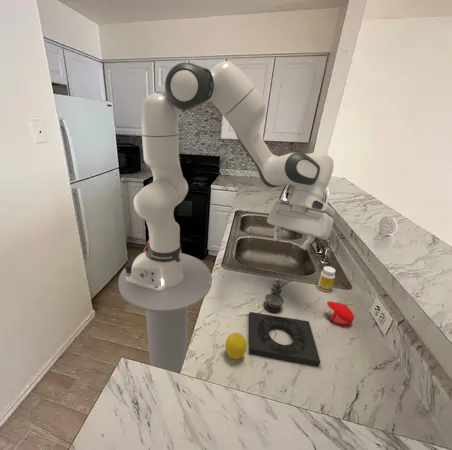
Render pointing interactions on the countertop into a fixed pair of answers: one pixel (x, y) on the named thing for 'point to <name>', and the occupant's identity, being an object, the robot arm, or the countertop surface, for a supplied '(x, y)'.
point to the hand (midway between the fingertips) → (288, 244)
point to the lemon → (235, 345)
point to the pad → (266, 346)
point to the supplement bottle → (326, 278)
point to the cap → (341, 313)
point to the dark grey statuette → (274, 297)
